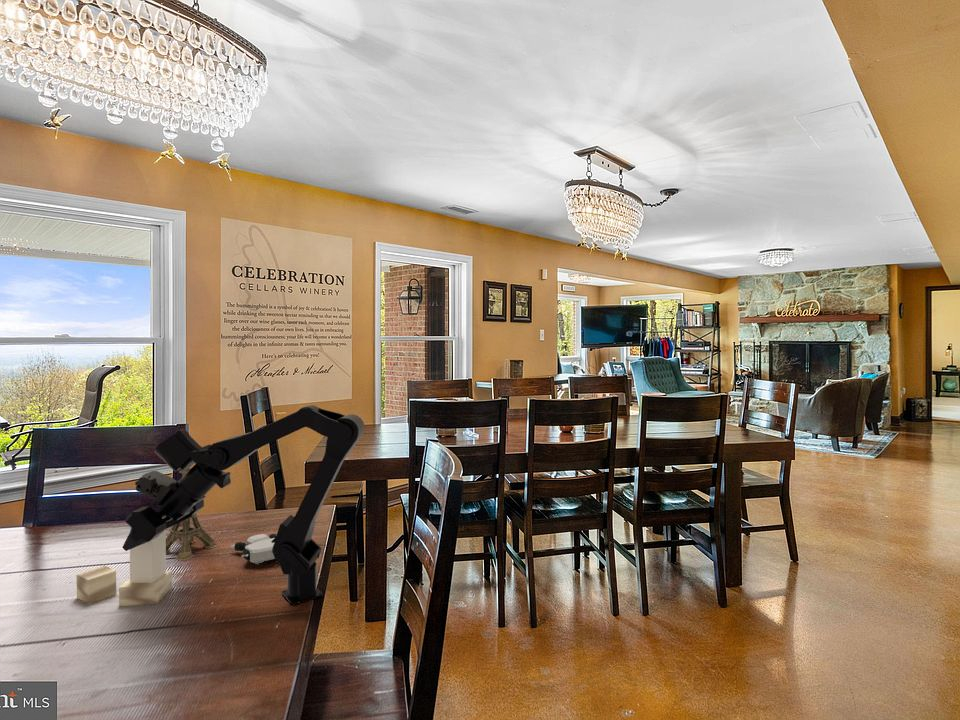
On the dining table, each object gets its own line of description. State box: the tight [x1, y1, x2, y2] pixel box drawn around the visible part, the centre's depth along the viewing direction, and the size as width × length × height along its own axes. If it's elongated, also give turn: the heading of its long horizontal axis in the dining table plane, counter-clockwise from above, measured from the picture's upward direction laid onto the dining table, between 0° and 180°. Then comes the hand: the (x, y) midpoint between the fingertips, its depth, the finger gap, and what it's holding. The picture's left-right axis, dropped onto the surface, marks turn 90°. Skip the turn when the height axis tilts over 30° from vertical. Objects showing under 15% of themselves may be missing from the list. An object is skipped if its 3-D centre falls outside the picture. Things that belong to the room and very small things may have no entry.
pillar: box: [129, 526, 167, 583], centre depth 107 cm, size 4×4×12 cm
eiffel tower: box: [166, 467, 218, 562], centre depth 131 cm, size 11×11×25 cm
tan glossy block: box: [118, 569, 173, 607], centre depth 107 cm, size 7×7×4 cm
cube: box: [75, 565, 117, 605], centre depth 107 cm, size 5×5×5 cm
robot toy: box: [230, 533, 277, 565], centre depth 128 cm, size 12×4×15 cm
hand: (139, 540), depth 107 cm, fingers open, 9 cm apart
